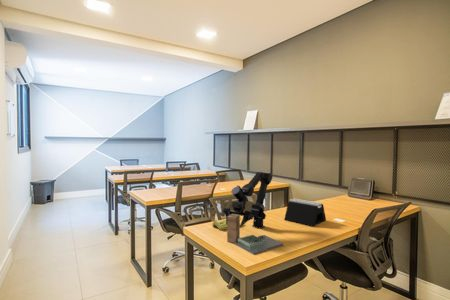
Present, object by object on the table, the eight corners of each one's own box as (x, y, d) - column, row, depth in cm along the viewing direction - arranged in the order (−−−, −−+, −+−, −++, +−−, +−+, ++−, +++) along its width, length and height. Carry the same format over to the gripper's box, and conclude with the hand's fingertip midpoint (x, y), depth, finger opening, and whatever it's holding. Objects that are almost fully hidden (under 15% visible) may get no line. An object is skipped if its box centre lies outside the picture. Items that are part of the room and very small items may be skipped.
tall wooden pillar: (231, 238, 153) (231, 214, 153) (239, 240, 151) (239, 215, 150) (227, 241, 148) (227, 216, 148) (235, 243, 146) (235, 217, 146)
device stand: (312, 227, 175) (313, 206, 175) (284, 220, 191) (284, 201, 191) (325, 220, 191) (326, 201, 191) (298, 214, 207) (298, 196, 207)
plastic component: (222, 227, 166) (213, 218, 173) (219, 236, 169) (211, 226, 176) (243, 219, 179) (234, 211, 186) (240, 227, 182) (232, 219, 189)
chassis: (264, 236, 156) (264, 231, 156) (283, 245, 143) (283, 239, 143) (235, 244, 144) (235, 238, 144) (253, 254, 131) (253, 248, 131)
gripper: (223, 194, 158) (215, 216, 149) (251, 197, 150) (244, 220, 140) (229, 204, 166) (221, 226, 156) (256, 208, 157) (249, 230, 147)
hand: (233, 225), depth 150 cm, fingers open, 9 cm apart
